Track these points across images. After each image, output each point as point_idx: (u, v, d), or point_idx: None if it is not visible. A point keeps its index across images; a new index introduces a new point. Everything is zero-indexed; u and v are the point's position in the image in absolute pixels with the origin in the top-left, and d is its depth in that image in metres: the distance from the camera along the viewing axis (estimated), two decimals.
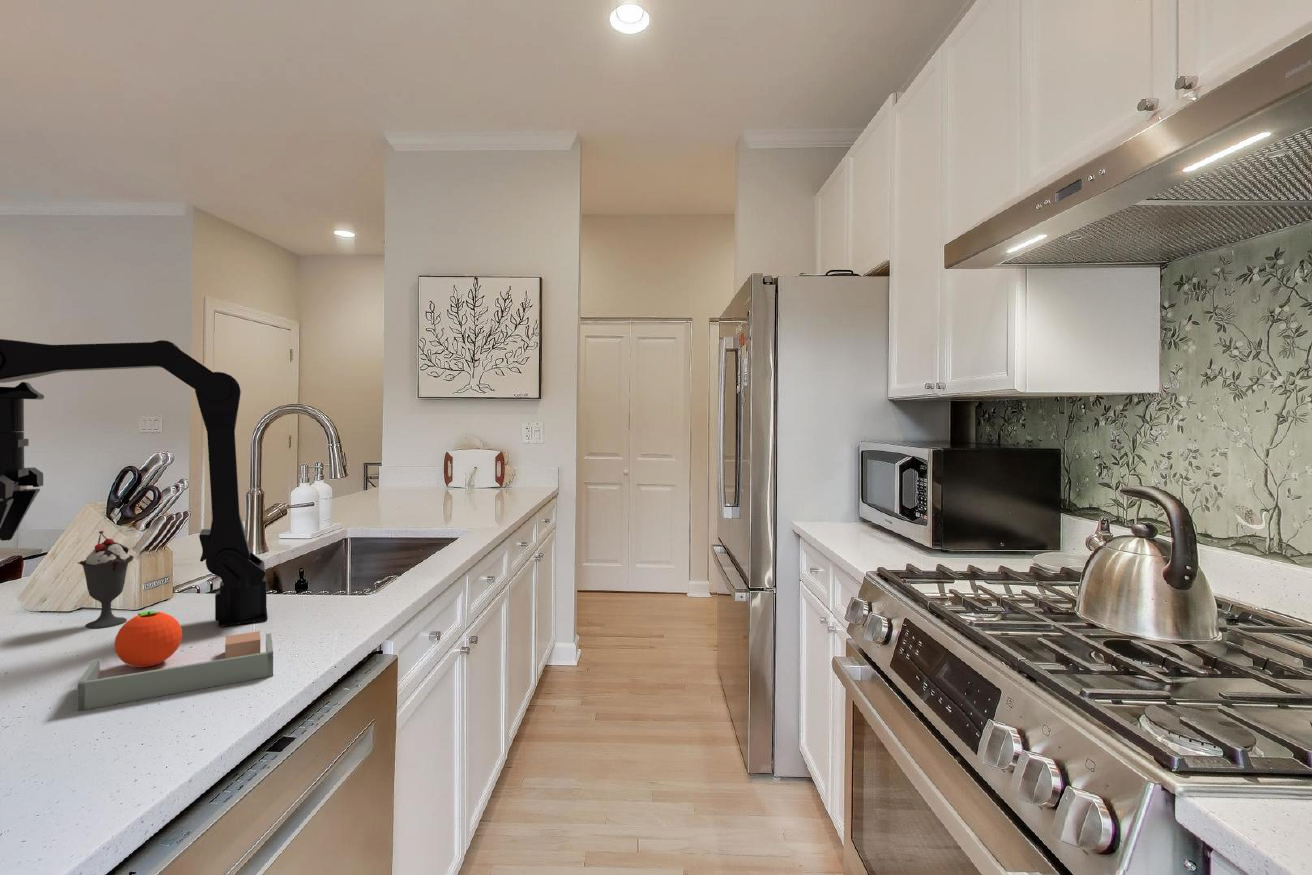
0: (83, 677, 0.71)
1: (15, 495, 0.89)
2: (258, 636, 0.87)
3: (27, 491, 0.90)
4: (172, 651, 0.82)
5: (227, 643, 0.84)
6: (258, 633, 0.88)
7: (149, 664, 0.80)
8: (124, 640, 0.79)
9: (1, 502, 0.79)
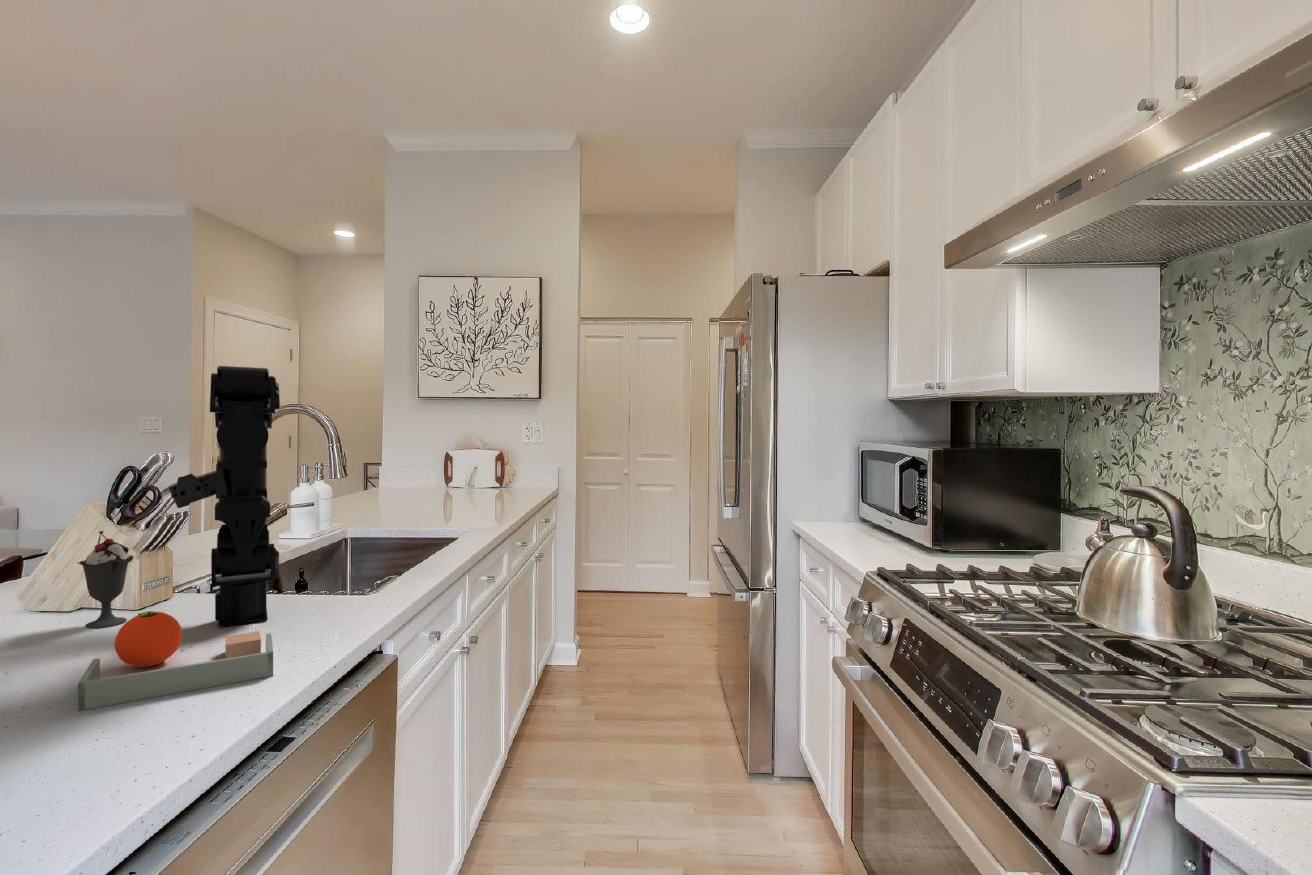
0: (83, 677, 0.71)
1: None
2: (259, 636, 0.87)
3: None
4: (172, 651, 0.82)
5: (227, 643, 0.84)
6: (258, 633, 0.88)
7: (149, 664, 0.80)
8: (124, 640, 0.79)
9: None
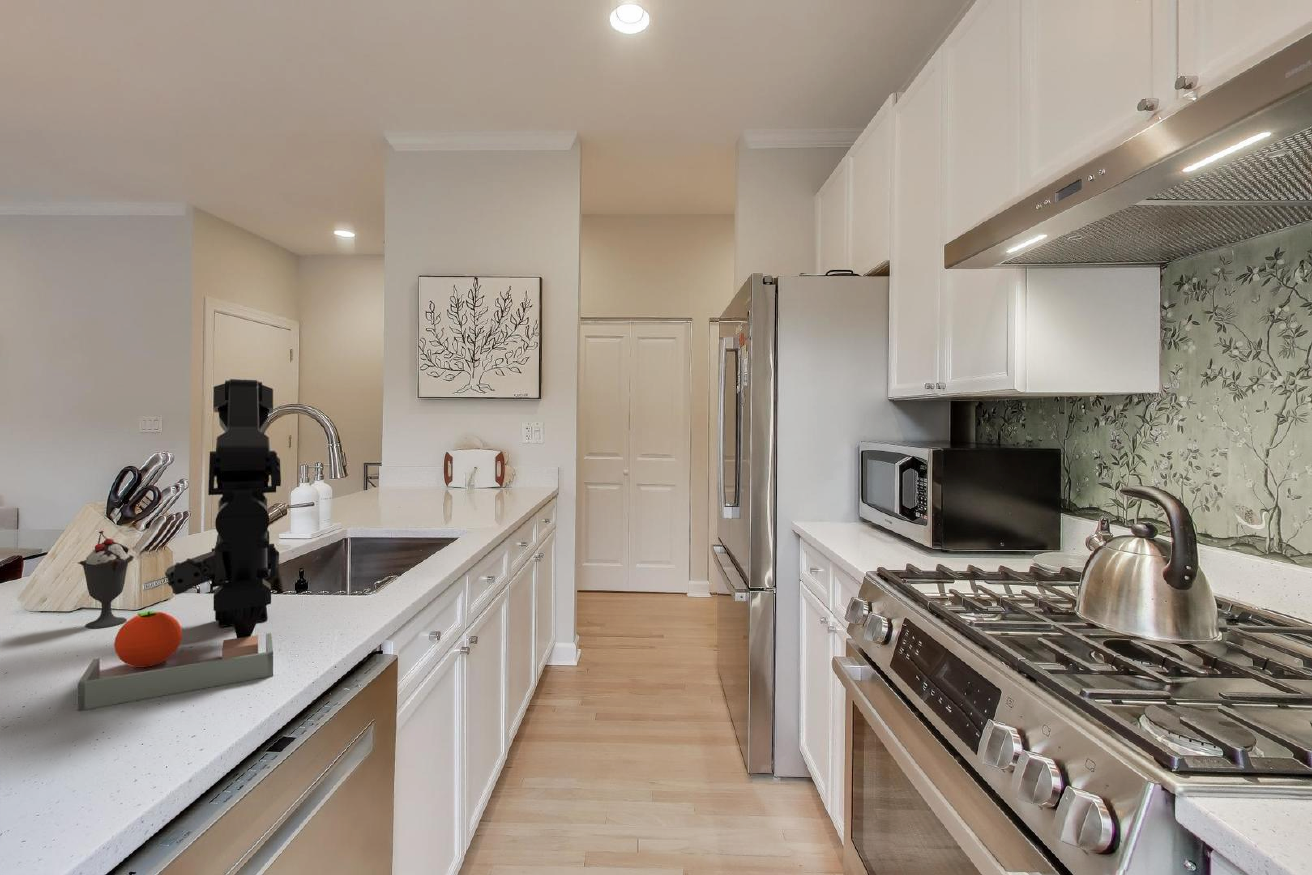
0: (83, 677, 0.71)
1: None
2: (256, 641, 0.85)
3: None
4: (172, 651, 0.82)
5: (224, 648, 0.82)
6: (256, 637, 0.86)
7: (149, 664, 0.80)
8: (124, 640, 0.79)
9: None
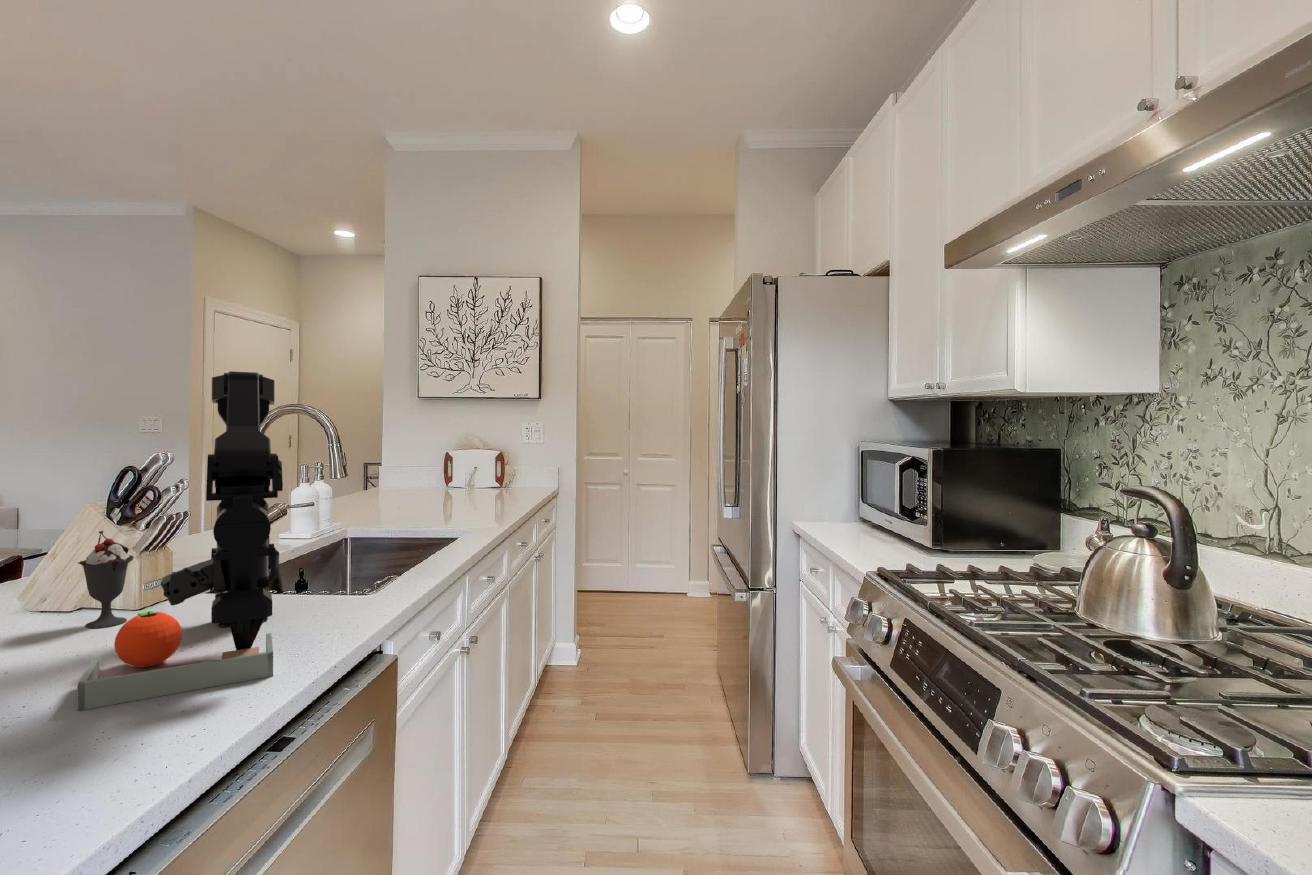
0: (83, 677, 0.71)
1: None
2: None
3: None
4: (172, 651, 0.82)
5: None
6: (257, 649, 0.82)
7: (149, 664, 0.80)
8: (124, 640, 0.79)
9: None
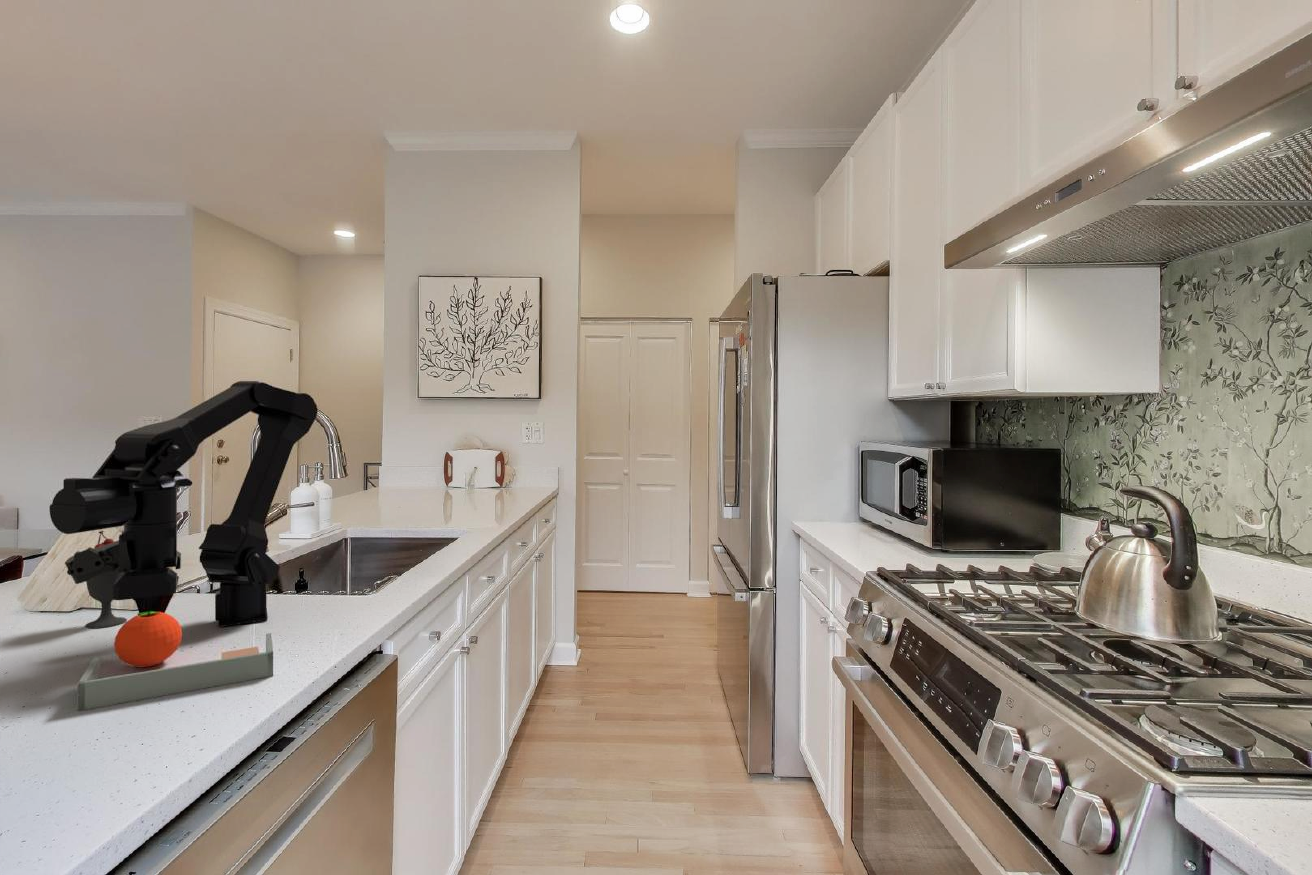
0: (83, 677, 0.71)
1: None
2: (257, 652, 0.81)
3: None
4: (172, 651, 0.82)
5: None
6: (256, 649, 0.82)
7: (149, 664, 0.80)
8: (124, 639, 0.78)
9: None
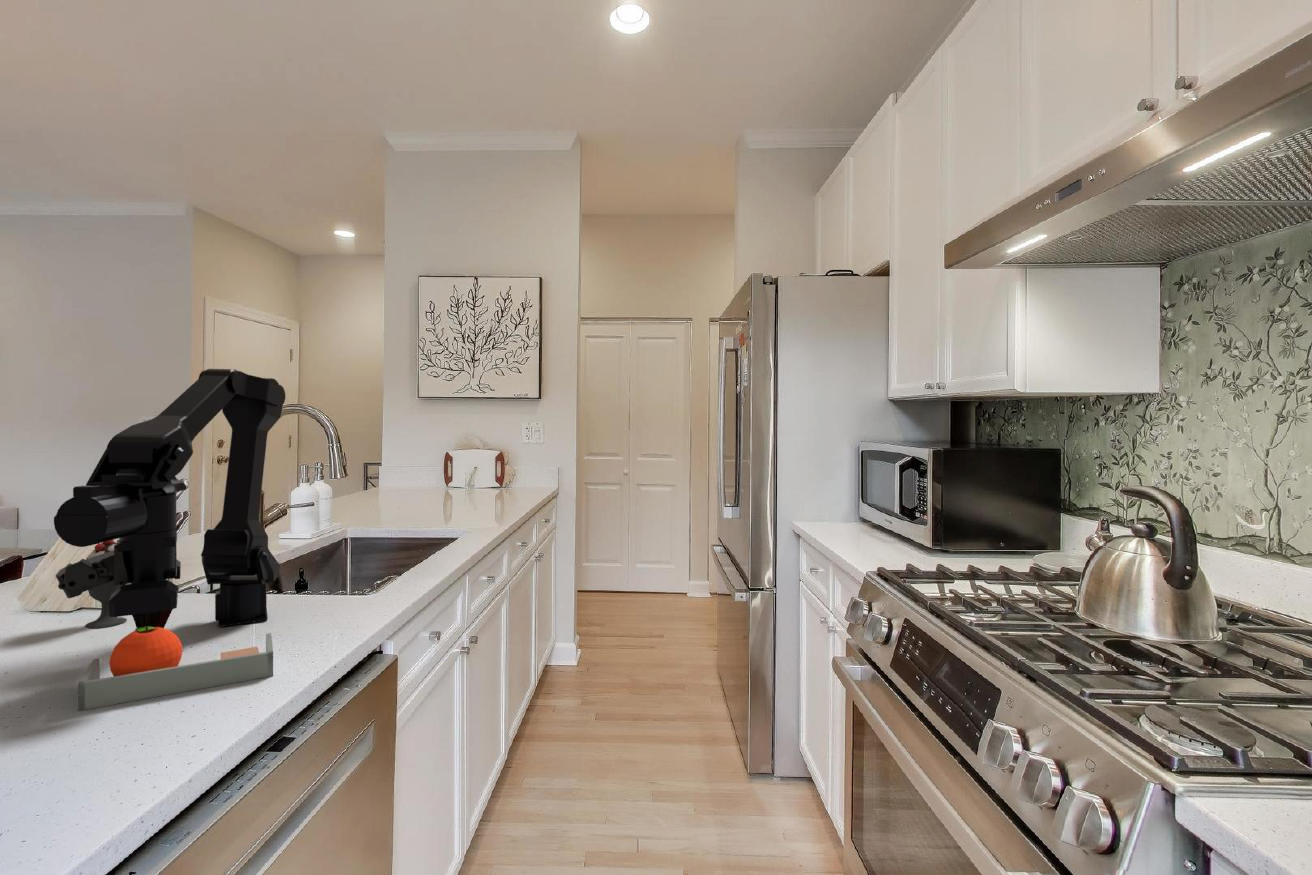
0: (83, 677, 0.71)
1: None
2: (257, 652, 0.81)
3: None
4: None
5: None
6: (256, 649, 0.82)
7: None
8: (120, 658, 0.73)
9: None
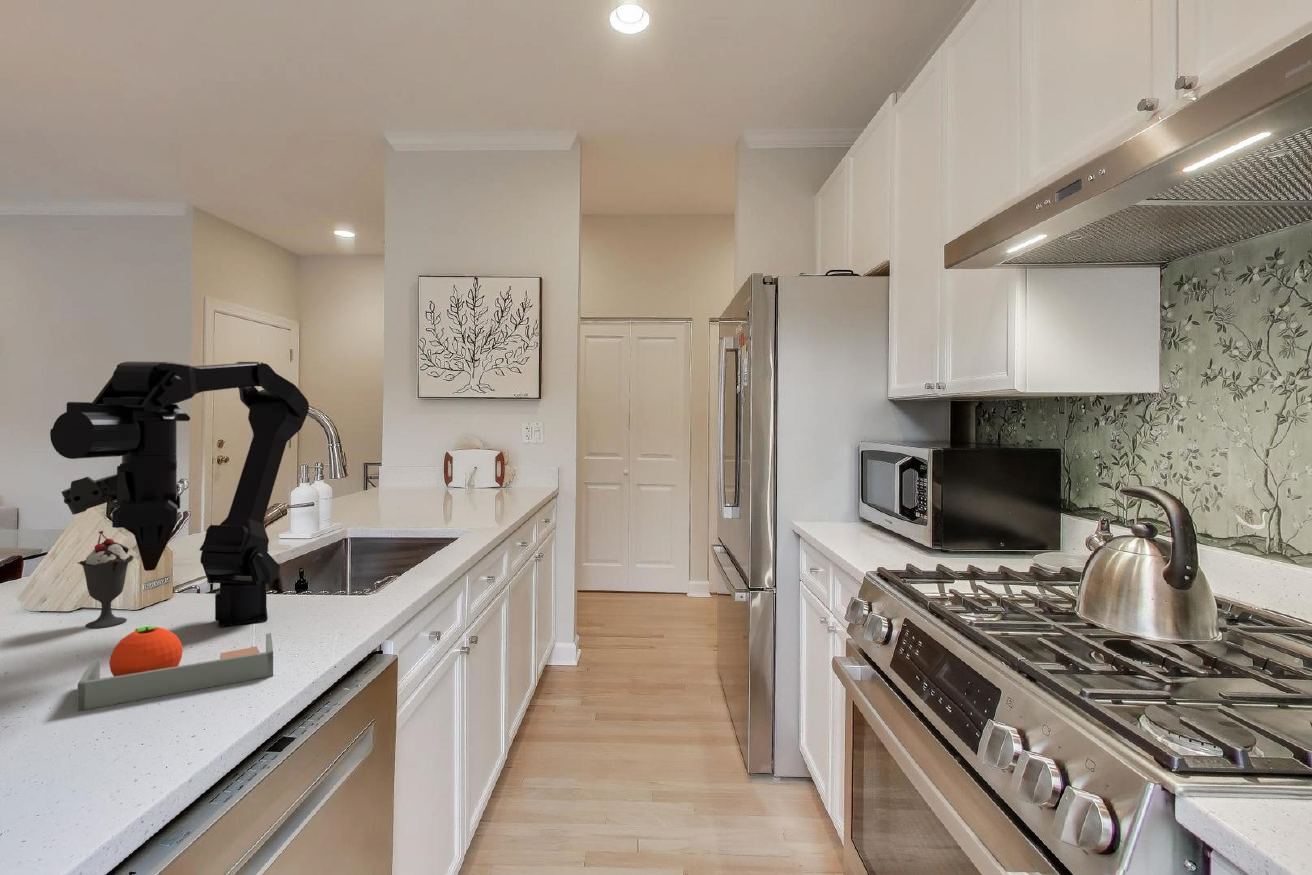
0: (83, 677, 0.71)
1: None
2: (257, 652, 0.81)
3: None
4: None
5: None
6: (256, 649, 0.82)
7: None
8: (120, 658, 0.73)
9: None
